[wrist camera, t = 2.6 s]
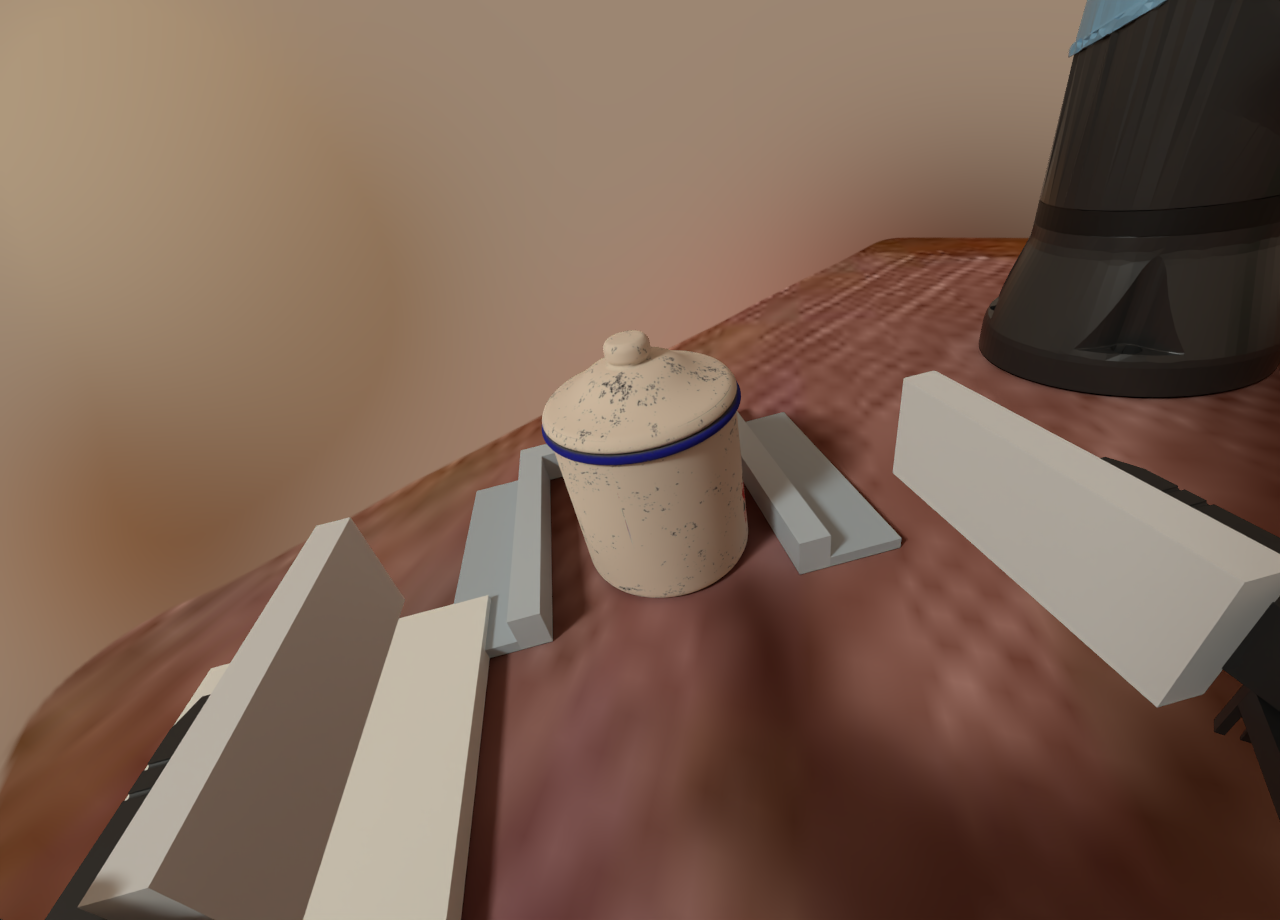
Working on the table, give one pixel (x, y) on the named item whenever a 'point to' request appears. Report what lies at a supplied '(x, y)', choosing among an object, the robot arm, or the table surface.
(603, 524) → the teacup with lid
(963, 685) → the table surface
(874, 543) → the cradle
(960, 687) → the table surface
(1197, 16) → the robot arm
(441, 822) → the mat
